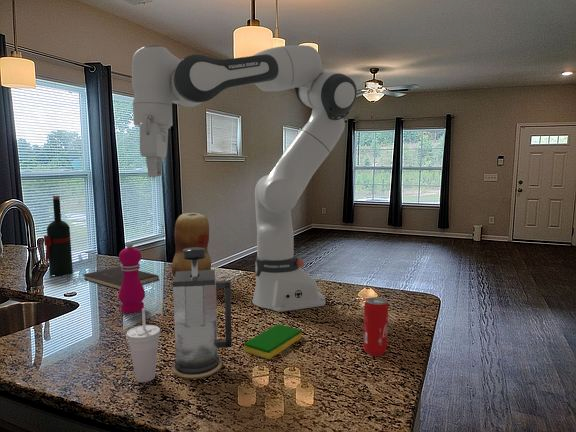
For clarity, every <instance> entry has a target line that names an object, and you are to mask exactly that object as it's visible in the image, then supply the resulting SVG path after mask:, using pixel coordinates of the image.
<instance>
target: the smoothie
mask: <svg viewBox="0 0 576 432" xmlns="http://www.w3.org/2000/svg"><path fill="white" fill-rule="evenodd" d="M141 314H142V315H141V317H142V318H141V320H142V325H138V326H134V327H132V328H131V329H129V330H127V332H126V336H125V337H126V341H128V346H129V351H130V357H131V361H132V366H133V367H132V368H133V371H134V378H135V381H136V382H138V383H147V382H150V381H153V380H154V379H155V377H156V371H157V361H158V351H159V350H158V348H159V340H160V336H161V335H162V334H161V328H160V327H159V326H157V325H153V324H152V325H151V324H146V323H147V322H146V308H145V307H144V308H143V309H142V311H141Z"/></svg>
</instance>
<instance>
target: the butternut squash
mask: <svg viewBox="0 0 576 432" xmlns="http://www.w3.org/2000/svg"><path fill="white" fill-rule="evenodd" d="M209 242H210V224H209V220H208V217H206V216H205V215H203V214H201V213H198V212H185V213H182V214H180V215H179V216H178V217H177V219H176V220H175V226H174V245H175V253H174V256H173V259H172V263H171V274H172V275H173V278H174V277H175V274H176V271H192V264H191V260H187V259H184V258H183V249H186V248H193V247H199V248H205V258H203V259H197V263H198V270H212V261H211V256H210V254H209V252H208V245H209Z"/></svg>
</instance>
